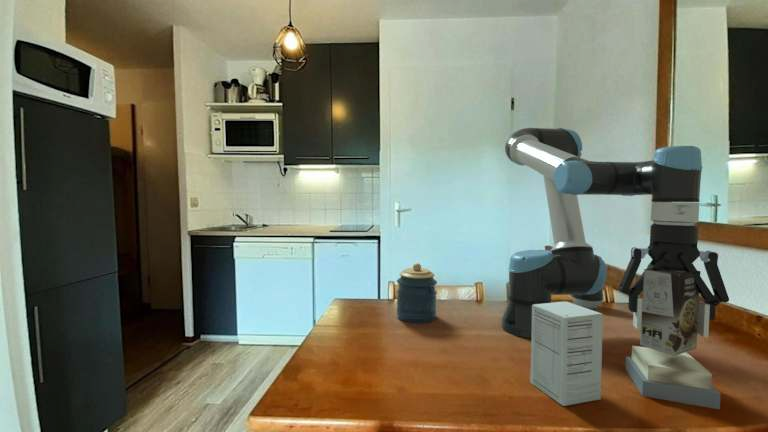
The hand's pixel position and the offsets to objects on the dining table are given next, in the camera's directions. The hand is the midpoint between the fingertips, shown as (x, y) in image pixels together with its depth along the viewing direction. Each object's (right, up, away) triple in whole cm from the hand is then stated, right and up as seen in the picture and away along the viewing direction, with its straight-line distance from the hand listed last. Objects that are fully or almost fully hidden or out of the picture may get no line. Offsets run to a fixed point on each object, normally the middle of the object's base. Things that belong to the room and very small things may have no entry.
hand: (668, 331), depth 73 cm
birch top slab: (0, -9, 0) cm, 9 cm away
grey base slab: (0, -12, 0) cm, 12 cm away
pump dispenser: (+15, -10, +56) cm, 59 cm away
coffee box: (0, -4, 0) cm, 4 cm away
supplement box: (-22, -12, -1) cm, 25 cm away
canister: (-48, -10, +43) cm, 65 cm away
